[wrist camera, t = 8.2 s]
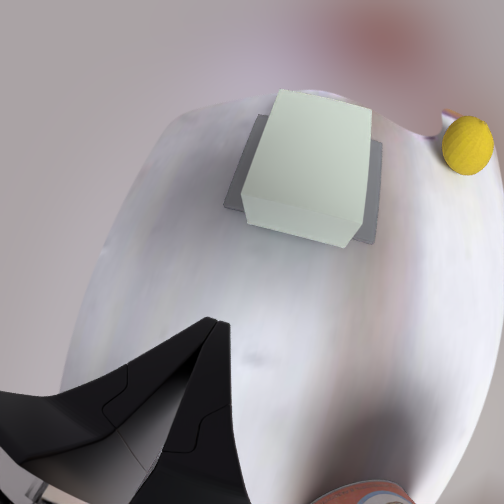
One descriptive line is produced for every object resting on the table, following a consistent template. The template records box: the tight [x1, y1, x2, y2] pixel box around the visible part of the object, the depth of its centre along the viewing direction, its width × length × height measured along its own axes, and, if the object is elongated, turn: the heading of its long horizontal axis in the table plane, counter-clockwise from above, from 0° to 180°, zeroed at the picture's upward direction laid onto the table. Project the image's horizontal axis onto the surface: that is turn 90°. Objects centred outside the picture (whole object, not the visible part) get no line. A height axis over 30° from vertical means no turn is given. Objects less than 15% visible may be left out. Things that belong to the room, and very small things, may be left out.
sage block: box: [241, 89, 372, 248], centre depth 21 cm, size 5×8×11 cm
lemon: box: [442, 116, 494, 175], centre depth 20 cm, size 6×6×8 cm
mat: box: [223, 114, 382, 244], centre depth 24 cm, size 11×13×1 cm
